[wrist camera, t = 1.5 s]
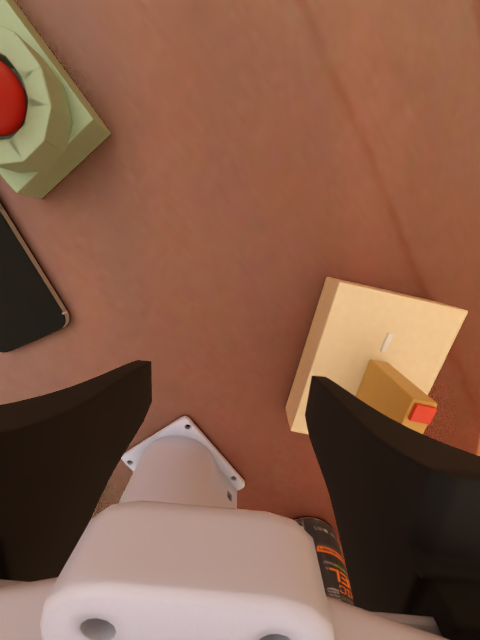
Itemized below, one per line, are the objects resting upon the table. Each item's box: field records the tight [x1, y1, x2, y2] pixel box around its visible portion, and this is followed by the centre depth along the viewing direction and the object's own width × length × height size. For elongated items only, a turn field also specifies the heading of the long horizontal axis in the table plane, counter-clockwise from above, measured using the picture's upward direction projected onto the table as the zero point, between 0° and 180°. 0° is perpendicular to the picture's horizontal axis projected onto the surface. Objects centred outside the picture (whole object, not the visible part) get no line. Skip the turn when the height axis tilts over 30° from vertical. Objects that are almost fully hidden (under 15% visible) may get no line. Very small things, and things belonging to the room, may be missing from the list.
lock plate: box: [285, 277, 468, 435], centre depth 20 cm, size 12×9×3 cm
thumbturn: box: [356, 359, 437, 434], centre depth 17 cm, size 4×1×5 cm, turn 167°
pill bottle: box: [294, 517, 354, 606], centre depth 22 cm, size 6×6×11 cm
